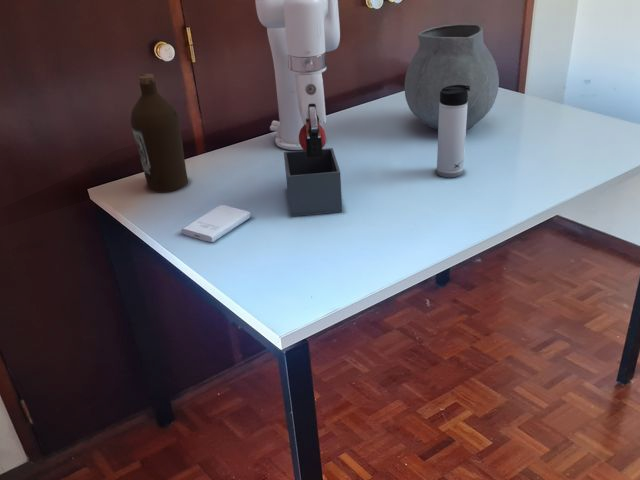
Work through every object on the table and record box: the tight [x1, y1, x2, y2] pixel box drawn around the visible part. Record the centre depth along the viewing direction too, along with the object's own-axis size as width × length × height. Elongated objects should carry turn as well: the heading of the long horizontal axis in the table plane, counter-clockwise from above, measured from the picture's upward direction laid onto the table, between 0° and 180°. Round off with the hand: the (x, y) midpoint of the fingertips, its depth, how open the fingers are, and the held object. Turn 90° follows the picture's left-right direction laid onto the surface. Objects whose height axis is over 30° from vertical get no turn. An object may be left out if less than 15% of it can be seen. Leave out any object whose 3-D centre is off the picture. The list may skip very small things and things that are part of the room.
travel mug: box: [436, 85, 470, 179], centre depth 161 cm, size 6×7×20 cm
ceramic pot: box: [404, 23, 500, 130], centre depth 185 cm, size 24×24×25 cm
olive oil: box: [130, 73, 189, 193], centre depth 160 cm, size 11×11×25 cm
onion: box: [299, 120, 327, 152], centre depth 149 cm, size 6×6×8 cm
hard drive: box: [181, 204, 251, 243], centre depth 149 cm, size 2×8×12 cm
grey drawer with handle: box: [283, 147, 343, 217], centre depth 157 cm, size 19×11×9 cm, turn 8°
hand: (313, 149), depth 151 cm, fingers closed on onion, 6 cm apart
